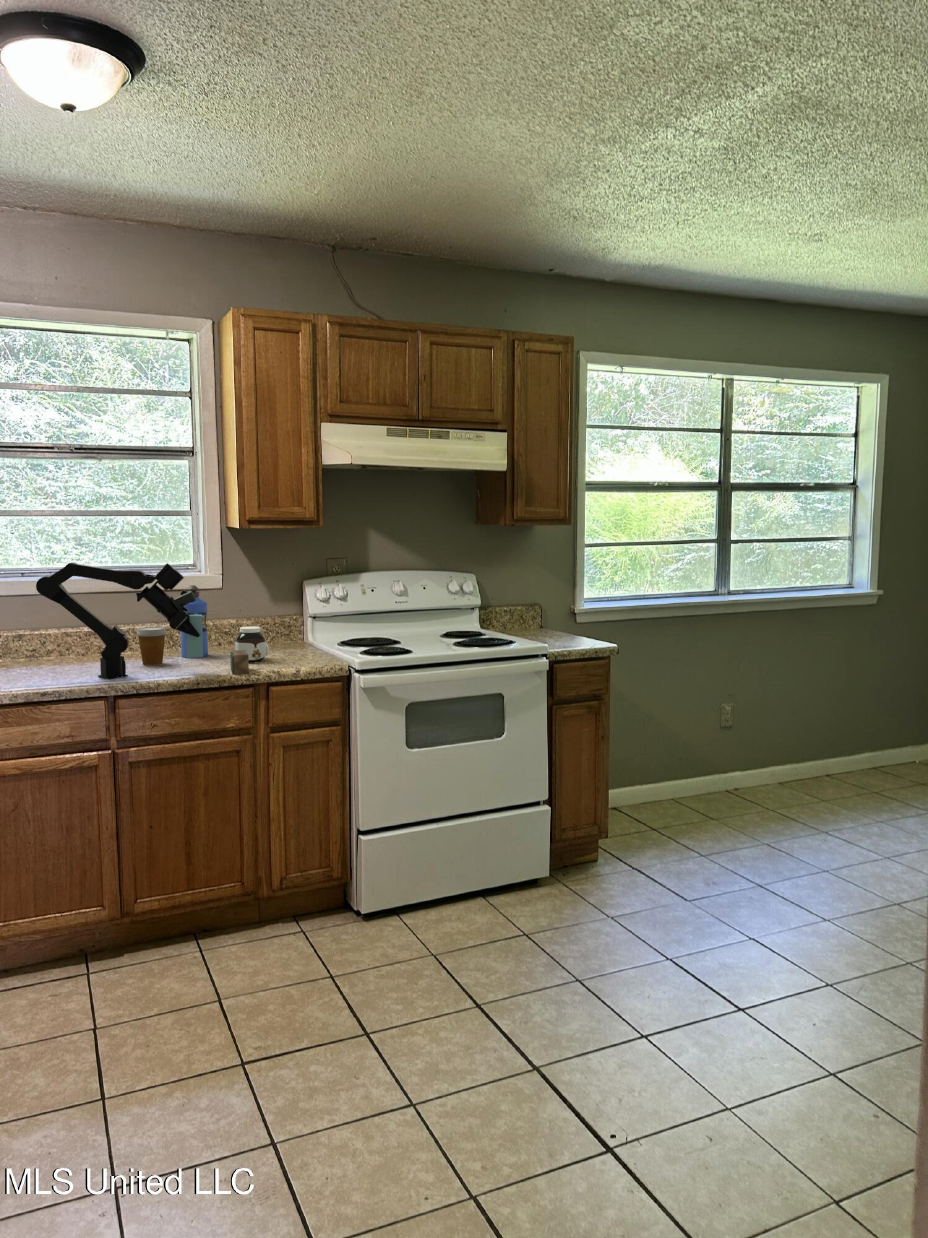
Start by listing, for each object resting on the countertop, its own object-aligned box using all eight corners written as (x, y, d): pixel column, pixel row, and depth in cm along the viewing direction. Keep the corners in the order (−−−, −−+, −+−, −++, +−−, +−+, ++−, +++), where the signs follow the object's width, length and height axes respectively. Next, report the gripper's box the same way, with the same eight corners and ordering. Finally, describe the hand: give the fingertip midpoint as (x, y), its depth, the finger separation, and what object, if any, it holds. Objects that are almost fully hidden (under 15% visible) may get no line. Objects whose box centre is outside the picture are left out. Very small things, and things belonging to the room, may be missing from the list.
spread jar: (237, 664, 311) (236, 629, 309) (232, 659, 321) (232, 625, 320) (273, 662, 315) (272, 628, 314) (267, 657, 325) (266, 624, 324)
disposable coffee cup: (131, 665, 307) (130, 629, 306) (151, 660, 316) (150, 626, 315) (153, 667, 304) (152, 630, 302) (173, 662, 312) (172, 627, 311)
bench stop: (232, 674, 291) (232, 655, 290) (230, 669, 300) (230, 650, 300) (248, 673, 292) (248, 654, 292) (246, 668, 302) (246, 650, 301)
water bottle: (176, 655, 327) (174, 585, 324) (201, 653, 333) (199, 584, 330) (187, 659, 320) (185, 587, 317) (213, 656, 326) (211, 585, 323)
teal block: (186, 657, 289) (185, 616, 287) (186, 655, 293) (185, 614, 292) (203, 657, 290) (202, 616, 289) (202, 655, 295) (201, 614, 293)
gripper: (179, 584, 279) (218, 620, 284) (179, 580, 297) (215, 613, 301) (152, 611, 278) (192, 646, 282) (154, 605, 295) (191, 638, 300)
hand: (198, 635), depth 291 cm, fingers closed on teal block, 5 cm apart
